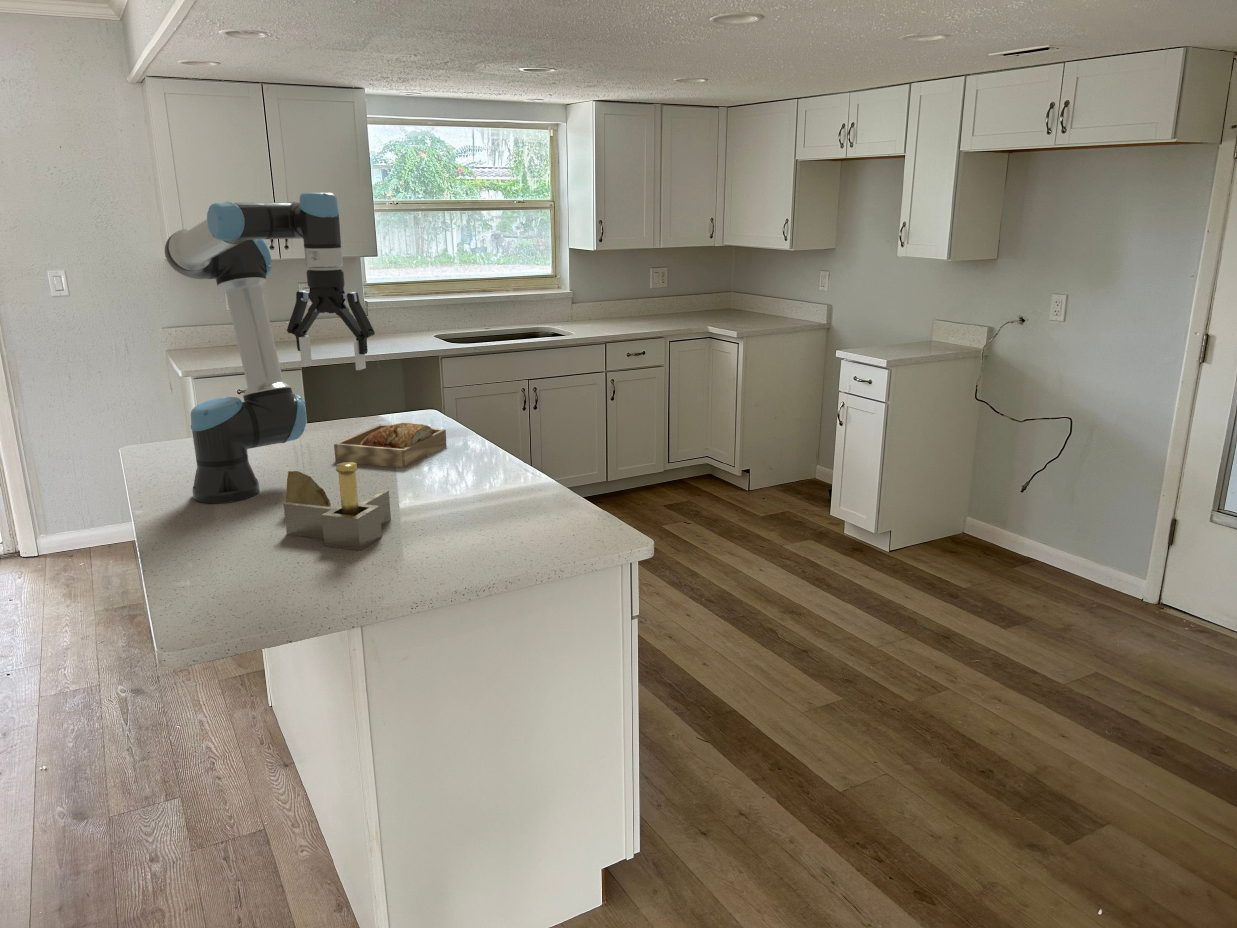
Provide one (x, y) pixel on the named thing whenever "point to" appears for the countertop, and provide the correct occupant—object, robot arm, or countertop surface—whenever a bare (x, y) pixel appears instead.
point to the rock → (305, 490)
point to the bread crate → (388, 450)
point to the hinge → (340, 522)
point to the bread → (397, 435)
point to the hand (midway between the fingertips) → (333, 367)
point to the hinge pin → (348, 488)
